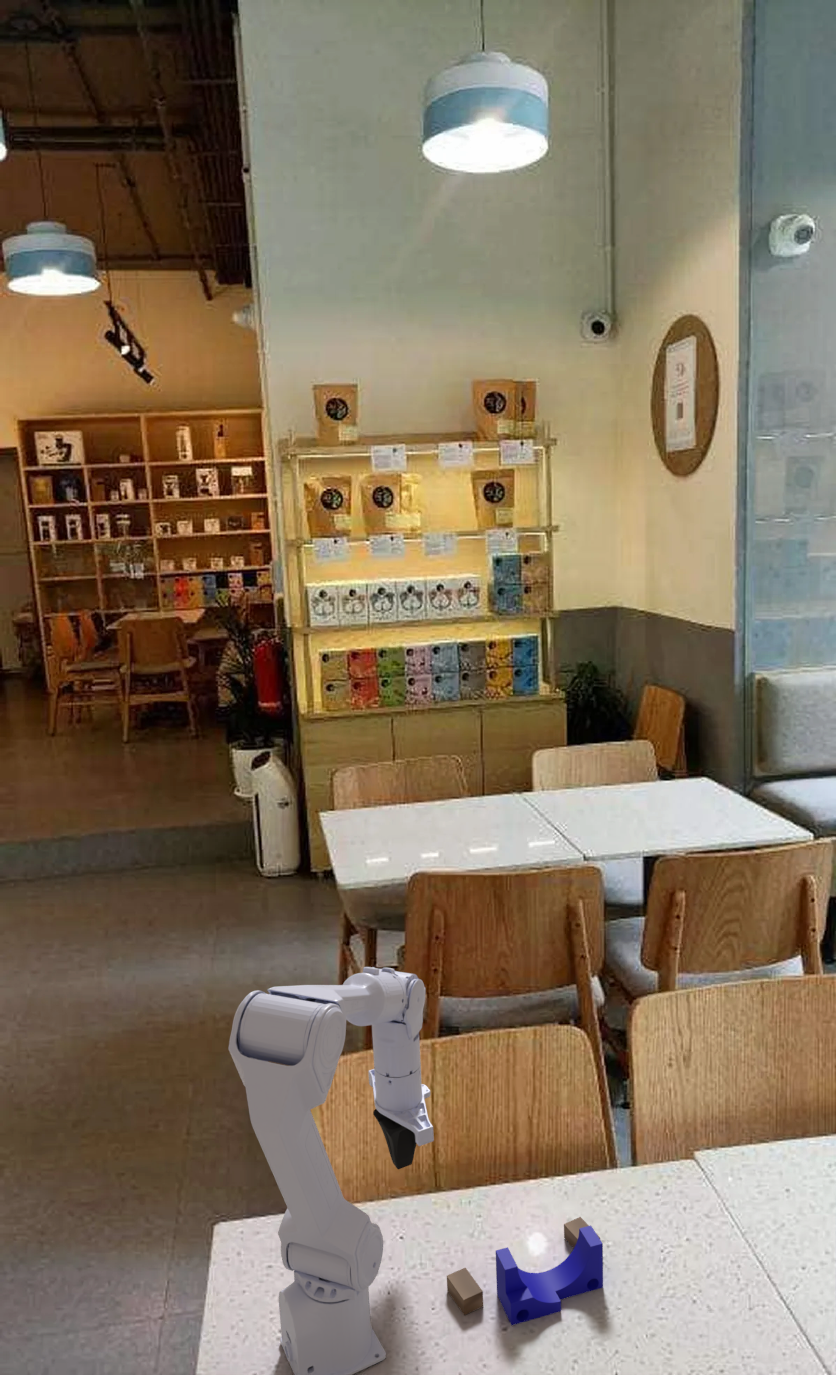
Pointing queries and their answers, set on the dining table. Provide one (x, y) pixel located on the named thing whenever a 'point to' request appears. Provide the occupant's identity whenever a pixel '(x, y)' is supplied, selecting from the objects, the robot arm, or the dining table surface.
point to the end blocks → (470, 1292)
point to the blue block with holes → (549, 1280)
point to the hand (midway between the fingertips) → (402, 1163)
